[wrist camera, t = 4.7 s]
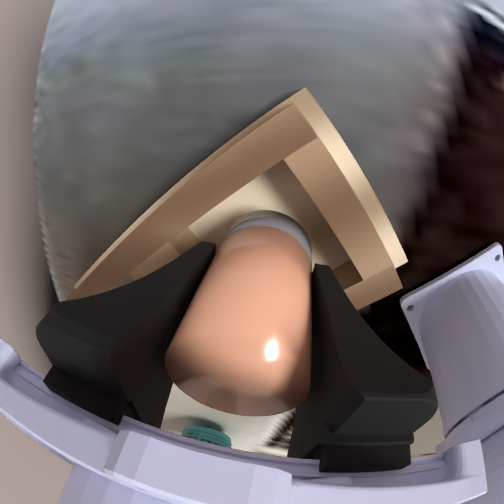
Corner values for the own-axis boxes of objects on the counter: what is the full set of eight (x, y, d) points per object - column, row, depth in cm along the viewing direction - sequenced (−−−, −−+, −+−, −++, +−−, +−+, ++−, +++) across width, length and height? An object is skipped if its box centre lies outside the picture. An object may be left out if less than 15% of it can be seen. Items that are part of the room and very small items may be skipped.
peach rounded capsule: (327, 264, 13) (335, 400, 7) (256, 298, 14) (226, 422, 9) (279, 192, 11) (250, 309, 6) (206, 238, 13) (137, 354, 7)
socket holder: (402, 249, 14) (444, 347, 8) (163, 356, 23) (132, 422, 17) (304, 88, 11) (309, 77, 5) (81, 278, 20) (29, 337, 14)
